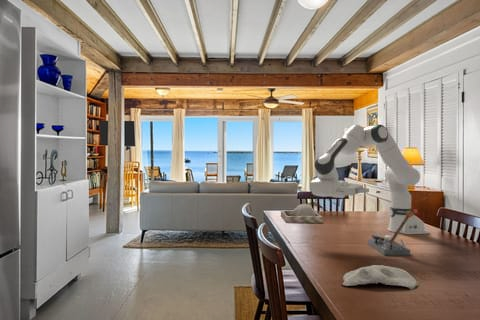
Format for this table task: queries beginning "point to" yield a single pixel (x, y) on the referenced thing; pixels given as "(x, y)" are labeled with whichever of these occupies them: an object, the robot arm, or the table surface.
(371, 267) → the stone
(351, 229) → the table surface
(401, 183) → the robot arm
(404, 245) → the stub toggle
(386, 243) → the panel
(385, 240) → the button
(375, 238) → the block
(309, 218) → the driftwood frame
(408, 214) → the lever
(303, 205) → the seashell
